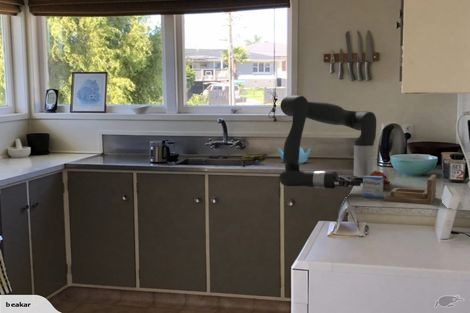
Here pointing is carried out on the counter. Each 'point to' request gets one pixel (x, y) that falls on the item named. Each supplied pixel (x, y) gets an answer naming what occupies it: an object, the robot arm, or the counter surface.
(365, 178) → the medicine box
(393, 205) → the counter surface
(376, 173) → the dragon fruit
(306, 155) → the teapot
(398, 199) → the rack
